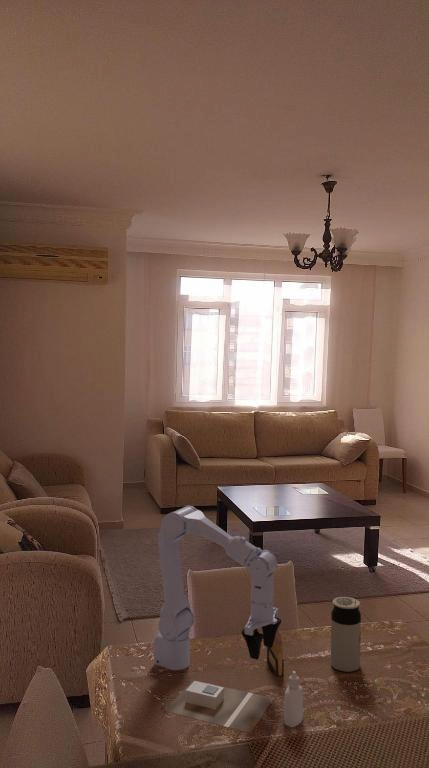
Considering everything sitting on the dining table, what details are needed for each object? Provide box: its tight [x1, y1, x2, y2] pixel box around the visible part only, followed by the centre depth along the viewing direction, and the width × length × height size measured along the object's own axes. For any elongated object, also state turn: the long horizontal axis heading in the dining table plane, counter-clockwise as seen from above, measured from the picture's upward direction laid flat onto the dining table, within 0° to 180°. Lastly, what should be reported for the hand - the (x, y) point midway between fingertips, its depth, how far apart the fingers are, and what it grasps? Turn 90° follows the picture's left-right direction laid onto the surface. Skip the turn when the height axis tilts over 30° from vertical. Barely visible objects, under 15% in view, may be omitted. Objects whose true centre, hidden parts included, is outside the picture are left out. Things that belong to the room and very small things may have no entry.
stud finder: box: [186, 680, 225, 710], centre depth 162 cm, size 8×5×3 cm, turn 66°
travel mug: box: [330, 596, 362, 673], centre depth 182 cm, size 8×8×18 cm
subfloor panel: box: [164, 679, 274, 734], centre depth 161 cm, size 22×16×1 cm
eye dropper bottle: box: [283, 670, 304, 728], centre depth 155 cm, size 4×6×12 cm
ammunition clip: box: [266, 629, 285, 676], centre depth 180 cm, size 11×2×12 cm, turn 10°
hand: (261, 652), depth 169 cm, fingers open, 7 cm apart
